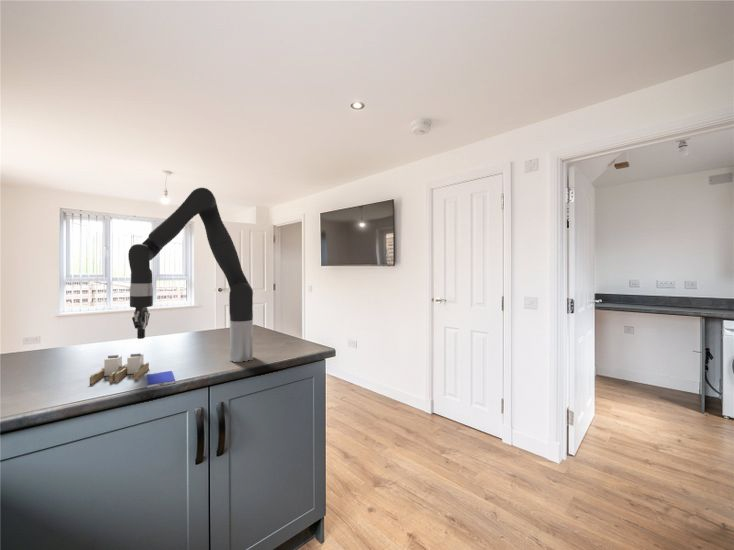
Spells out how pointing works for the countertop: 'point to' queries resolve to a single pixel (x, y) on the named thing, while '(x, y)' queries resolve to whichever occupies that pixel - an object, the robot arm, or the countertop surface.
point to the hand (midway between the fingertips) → (141, 338)
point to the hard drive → (160, 379)
